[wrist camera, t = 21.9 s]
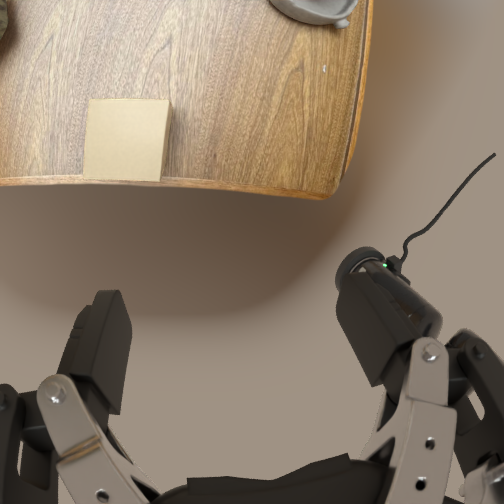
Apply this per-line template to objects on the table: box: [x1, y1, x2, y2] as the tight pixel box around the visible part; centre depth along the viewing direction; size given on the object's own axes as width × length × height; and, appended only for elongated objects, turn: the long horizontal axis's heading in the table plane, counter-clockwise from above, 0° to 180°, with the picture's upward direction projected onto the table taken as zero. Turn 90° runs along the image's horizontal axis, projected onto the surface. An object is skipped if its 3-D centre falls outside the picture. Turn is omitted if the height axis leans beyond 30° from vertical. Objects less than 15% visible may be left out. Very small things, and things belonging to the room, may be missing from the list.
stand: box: [83, 98, 173, 182], centre depth 27 cm, size 8×8×11 cm
